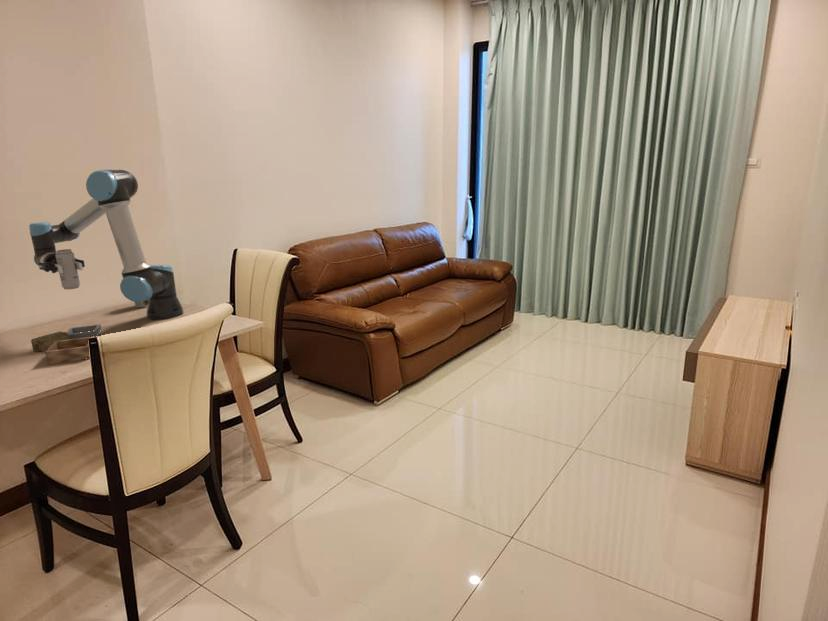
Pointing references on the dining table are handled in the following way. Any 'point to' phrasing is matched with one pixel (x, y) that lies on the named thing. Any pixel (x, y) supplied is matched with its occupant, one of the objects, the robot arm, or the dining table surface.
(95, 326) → the tray
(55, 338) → the stone block
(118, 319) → the dining table surface
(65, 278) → the energy drink can
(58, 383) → the dining table surface
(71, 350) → the walnut bin
